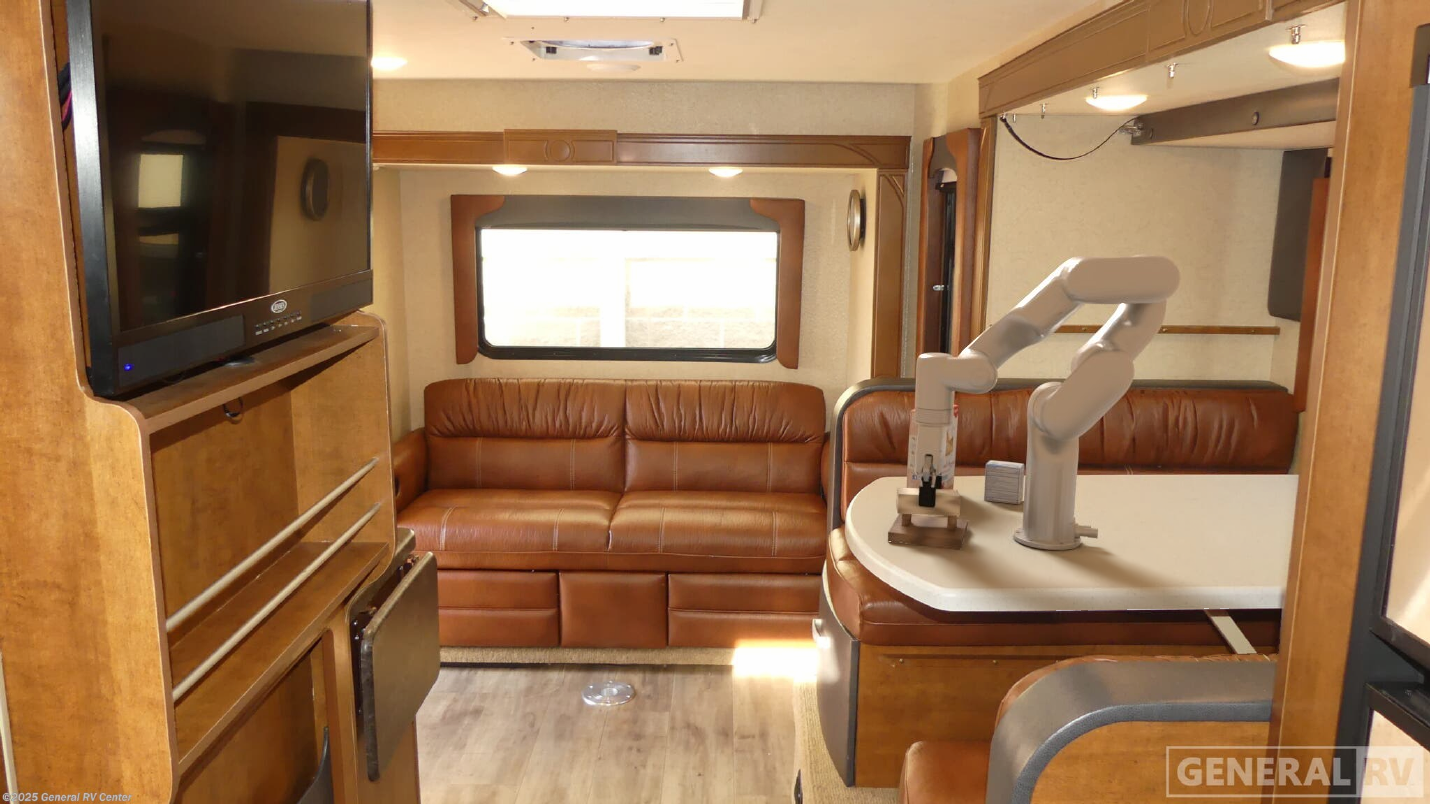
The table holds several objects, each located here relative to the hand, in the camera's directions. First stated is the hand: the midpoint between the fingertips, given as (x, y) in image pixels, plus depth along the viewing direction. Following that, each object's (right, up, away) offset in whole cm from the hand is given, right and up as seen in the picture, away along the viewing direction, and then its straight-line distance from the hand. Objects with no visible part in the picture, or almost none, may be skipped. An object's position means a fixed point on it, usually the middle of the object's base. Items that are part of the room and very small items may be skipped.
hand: (930, 500), depth 202 cm
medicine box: (+22, -3, +27) cm, 36 cm away
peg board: (0, -7, +1) cm, 7 cm away
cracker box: (+7, -2, +31) cm, 32 cm away
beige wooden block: (0, -2, 0) cm, 2 cm away
